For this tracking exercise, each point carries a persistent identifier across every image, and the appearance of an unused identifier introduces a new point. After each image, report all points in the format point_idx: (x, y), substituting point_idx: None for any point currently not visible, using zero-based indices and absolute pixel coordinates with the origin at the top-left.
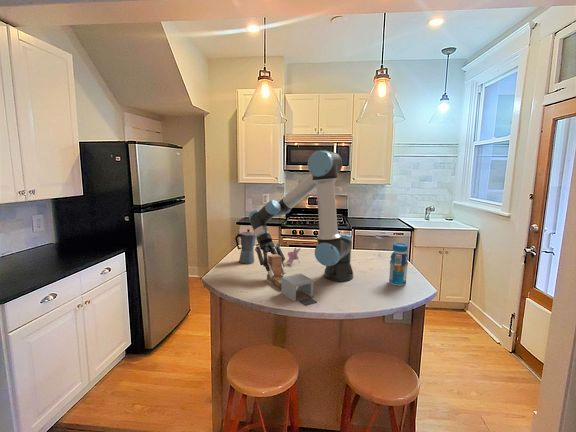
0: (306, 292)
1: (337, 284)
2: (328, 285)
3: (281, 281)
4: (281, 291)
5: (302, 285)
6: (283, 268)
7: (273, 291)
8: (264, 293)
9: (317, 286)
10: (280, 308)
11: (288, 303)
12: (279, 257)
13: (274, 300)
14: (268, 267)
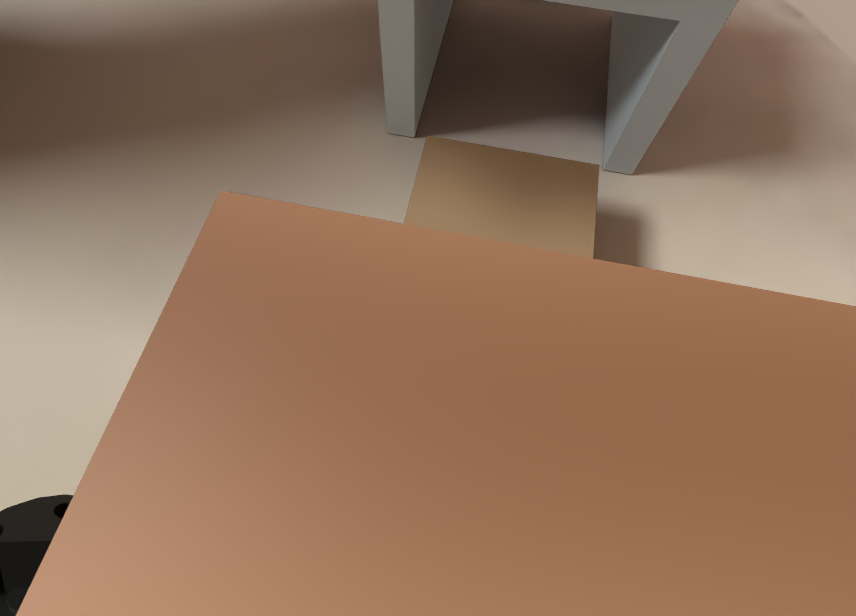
0: (444, 16)
1: (25, 4)
2: (104, 34)
3: (544, 248)
4: (639, 159)
5: (433, 15)
6: None
7: (684, 257)
8: (810, 280)
9: (201, 76)
10: (794, 8)
11: None
12: (408, 253)
13: (778, 111)
14: None
